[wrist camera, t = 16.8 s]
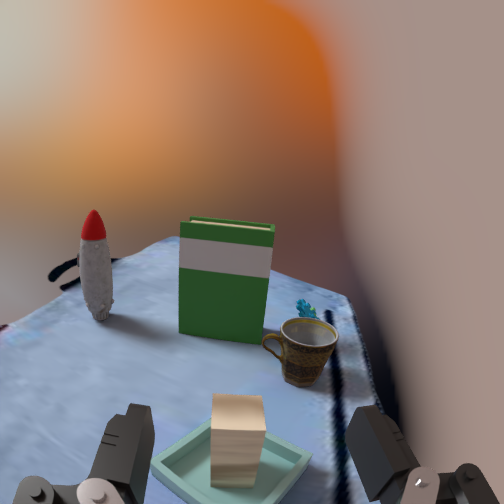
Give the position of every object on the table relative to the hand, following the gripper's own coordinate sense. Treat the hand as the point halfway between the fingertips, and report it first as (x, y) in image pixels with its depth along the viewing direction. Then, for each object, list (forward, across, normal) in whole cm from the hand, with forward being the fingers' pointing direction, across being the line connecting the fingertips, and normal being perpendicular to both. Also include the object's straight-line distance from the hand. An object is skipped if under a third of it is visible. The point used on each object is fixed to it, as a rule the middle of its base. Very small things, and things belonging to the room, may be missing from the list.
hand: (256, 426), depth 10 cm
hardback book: (+50, 0, -26) cm, 57 cm away
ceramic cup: (+34, +12, -26) cm, 45 cm away
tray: (+13, +1, -26) cm, 29 cm away
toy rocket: (+51, -30, -26) cm, 65 cm away
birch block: (+13, +1, -25) cm, 28 cm away
